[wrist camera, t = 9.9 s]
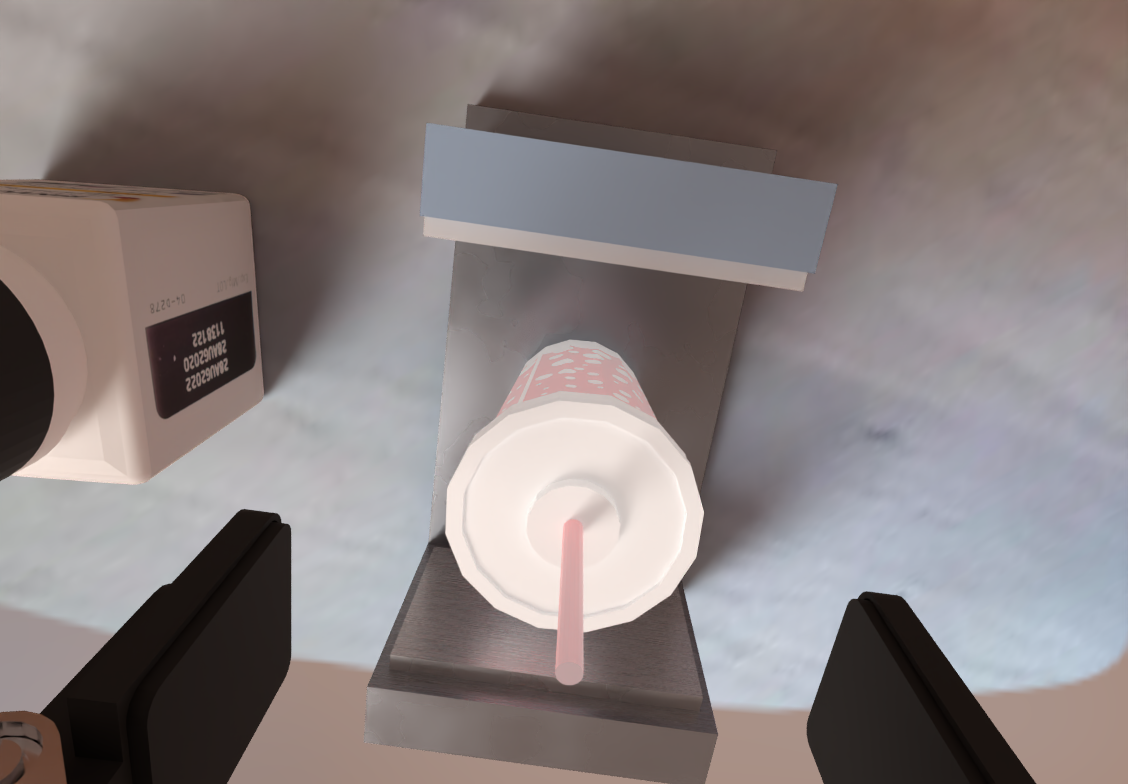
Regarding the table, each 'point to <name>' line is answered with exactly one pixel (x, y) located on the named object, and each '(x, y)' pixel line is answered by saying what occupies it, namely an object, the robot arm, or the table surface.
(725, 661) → the table surface
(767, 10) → the table surface
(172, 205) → the container
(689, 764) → the vise base
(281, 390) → the table surface
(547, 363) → the beverage cup
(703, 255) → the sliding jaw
